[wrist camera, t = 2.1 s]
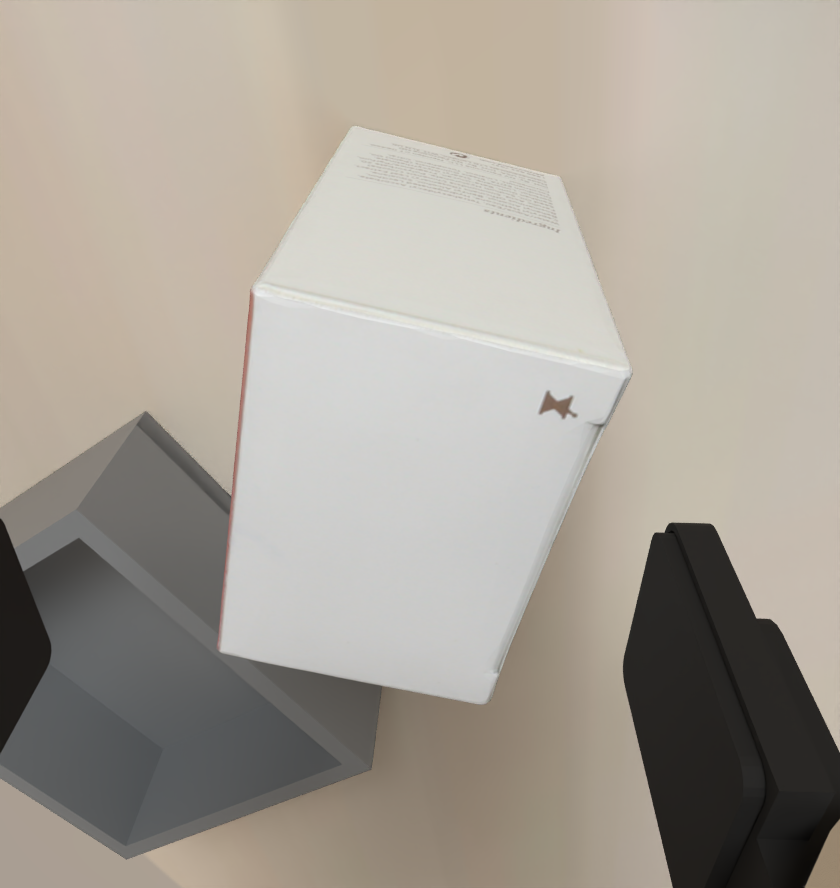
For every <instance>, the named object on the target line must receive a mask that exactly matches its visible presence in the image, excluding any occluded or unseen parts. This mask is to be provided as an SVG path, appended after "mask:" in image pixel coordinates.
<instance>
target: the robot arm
mask: <svg viewBox="0 0 840 888" xmlns="http://www.w3.org/2000/svg"><path fill="white" fill-rule="evenodd" d="M51 651H52V650H51V642H50V639H49V636H48V634H47V631H46V629H45V626H44V623H43V621H42V618H41V616H40V613H39V611H38V608H37V606H36V603H35V600H34V598H33V595H32V593H31V590H30V588H29V585H28V583H27V580H26V577H25V575H24V572H23V570H22V567H21V565H20V562H19V560H18V557H17V554H16V552H15V549H14V547H13V544H12V542H11V539H10V537H9V534H8V531H7V529H6V526H5V524H4V522H3V520H2V519H1V518H0V753H1V752H2V750H3V748H4V746H5V744H6V742H7V741H8V739H9V737H10V735H11V733H12V732H13V730H14V728H15V726H16V724H17V722H18V721H19V719H20V717H21V715H22V713H23V711H24V710H25V708H26V706H27V704H28V702H29V700H30V699H31V697H32V695H33V693H34V691H35V689H36V688H37V686H38V684H39V682H40V680H41V679H42V677H43V675H44V673H45V671H46V669H47V667H48V665H49V662H50V658H51ZM623 676H624V683H625V688H626V692H627V696H628V701H629V705H630V709H631V713H632V717H633V722H634V726H635V730H636V734H637V738H638V743H639V747H640V751H641V755H642V760H643V764H644V768H645V772H646V776H647V781H648V785H649V789H650V793H651V797H652V802H653V806H654V810H655V814H656V818H657V823H658V827H659V831H660V835H661V839H662V844H663V848H664V852H665V856H666V861H667V865H668V869H669V873H670V877H671V882H672V886H673V888H840V752H839V750H838V748H837V746H836V744H835V742H834V740H833V738H832V736H831V734H830V731H829V729H828V727H827V725H826V723H825V721H824V719H823V717H822V715H821V713H820V711H819V709H818V707H817V704H816V702H815V700H814V698H813V696H812V694H811V692H810V690H809V688H808V686H807V684H806V682H805V680H804V677H803V675H802V673H801V671H800V669H799V667H798V665H797V663H796V661H795V659H794V657H793V655H792V653H791V650H790V648H789V646H788V644H787V642H786V640H785V638H784V636H783V634H782V632H781V631H780V629H779V628H778V626H777V624H775V623H774V622H773V621H772V620H770V619H756V617H755V614H754V612H753V610H752V608H751V606H750V603H749V601H748V599H747V597H746V595H745V592H744V590H743V588H742V586H741V584H740V581H739V579H738V577H737V575H736V573H735V570H734V568H733V566H732V564H731V562H730V559H729V557H728V555H727V553H726V551H725V548H724V546H723V544H722V542H721V540H720V537H719V535H718V533H717V531H716V529H715V528H714V526H713V525H711V524H705V523H669V524H668V526H667V527H666V530H665V533H655V534H654V535H653V537H652V540H651V544H650V549H649V553H648V557H647V561H646V566H645V570H644V574H643V578H642V583H641V587H640V591H639V596H638V600H637V604H636V608H635V613H634V617H633V621H632V625H631V630H630V634H629V638H628V642H627V647H626V651H625V655H624V661H623Z"/></svg>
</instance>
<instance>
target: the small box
mask: <svg viewBox="0 0 840 888" xmlns="http://www.w3.org/2000/svg"><path fill="white" fill-rule="evenodd" d="M632 374H633V373H632V367H631V364H630V362H629V359H628V357H627V354H626V351H625V349H624V346H623V343H622V341H621V338H620V334H619V332H618V330H617V327H616V324H615V321H614V318H613V316H612V313H611V310H610V308H609V305H608V303H607V300H606V298H605V295H604V292H603V290H602V287H601V284H600V282H599V278H598V275H597V273H596V270H595V267H594V264H593V262H592V259H591V256H590V253H589V250H588V248H587V245H586V243H585V240H584V237H583V234H582V232H581V229H580V226H579V224H578V221H577V218H576V216H575V213H574V211H573V207H572V205H571V203H570V200H569V197H568V195H567V192H566V189H565V187H564V184H563V181H562V179H561V177H559V176H556V175H552V174H547V173H543V172H539V171H535V170H531V169H527V168H523V167H519V166H515V165H511V164H507V163H503V162H499V161H495V160H491V159H487V158H483V157H479V156H475V155H471V154H467V153H463V152H459V151H455V150H451V149H447V148H443V147H439V146H435V145H431V144H427V143H423V142H419V141H415V140H411V139H407V138H402V137H398V136H394V135H390V134H386V133H382V132H378V131H374V130H370V129H366V128H362V127H359V126H353V127H351V128H350V129H349V131H348V133H347V134H346V136H345V137H344V139H343V140H342V142H341V144H340V145H339V147H338V149H337V150H336V152H335V153H334V155H333V156H332V158H331V160H330V161H329V163H328V165H327V166H326V168H325V170H324V172H323V173H322V175H321V176H320V178H319V180H318V181H317V183H316V184H315V186H314V187H313V189H312V191H311V192H310V194H309V196H308V197H307V199H306V201H305V202H304V204H303V205H302V207H301V209H300V210H299V212H298V214H297V215H296V217H295V218H294V220H293V222H292V223H291V225H290V226H289V228H288V230H287V231H286V233H285V235H284V236H283V238H282V240H281V241H280V243H279V245H278V246H277V248H276V250H275V251H274V253H273V254H272V256H271V258H270V259H269V261H268V262H267V264H266V265H265V267H264V269H263V270H262V272H261V274H260V275H259V277H258V278H257V280H256V281H255V283H254V284H253V286H252V288H251V289H250V305H249V315H248V325H247V335H246V346H245V357H244V368H243V379H242V389H241V400H240V411H239V422H238V432H237V442H236V453H235V463H234V474H233V487H232V497H231V506H230V516H229V527H228V538H227V549H226V559H225V570H224V580H223V590H222V599H221V613H220V625H219V635H218V642H217V650H218V651H219V652H221V653H223V654H228V655H232V656H237V657H241V658H246V659H250V660H254V661H259V662H264V663H269V664H273V665H278V666H283V667H289V668H294V669H299V670H304V671H310V672H315V673H320V674H325V675H329V676H334V677H339V678H344V679H350V680H355V681H360V682H365V683H370V684H375V685H380V686H385V687H390V688H396V689H401V690H406V691H411V692H416V693H421V694H426V695H431V696H436V697H441V698H447V699H452V700H457V701H462V702H468V703H473V704H478V705H483V704H487V703H488V702H489V701H490V700H491V698H492V696H493V693H494V690H495V687H496V684H497V681H498V678H499V675H500V672H501V669H502V666H503V663H504V661H505V658H506V656H507V653H508V650H509V648H510V645H511V643H512V640H513V638H514V635H515V633H516V631H517V628H518V626H519V623H520V621H521V619H522V616H523V614H524V612H525V609H526V607H527V604H528V602H529V600H530V597H531V595H532V592H533V590H534V588H535V585H536V583H537V581H538V578H539V576H540V573H541V571H542V569H543V566H544V564H545V562H546V559H547V557H548V555H549V552H550V550H551V548H552V545H553V543H554V541H555V538H556V536H557V534H558V531H559V529H560V527H561V524H562V522H563V520H564V518H565V515H566V513H567V511H568V508H569V506H570V503H571V501H572V499H573V497H574V495H575V492H576V490H577V487H578V485H579V483H580V481H581V479H582V477H583V475H584V472H585V470H586V468H587V466H588V464H589V461H590V459H591V457H592V455H593V453H594V450H595V448H596V446H597V444H598V441H599V439H600V437H601V436H602V434H603V432H604V430H605V428H606V427H607V425H608V423H609V421H610V419H611V417H612V415H613V413H614V411H615V409H616V407H617V405H618V403H619V401H620V399H621V397H622V395H623V393H624V391H625V389H626V387H627V385H628V383H629V381H630V379H631V376H632Z"/></svg>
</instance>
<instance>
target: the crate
mask: <svg viewBox="0 0 840 888" xmlns="http://www.w3.org/2000/svg"><path fill="white" fill-rule="evenodd" d="M230 506H231V496H230V495H229V494H228V493H227V492H226V491H225V490H224V489H223V488H222V487H221V486H220V485H219V484H218V483H217V482H216V481H215V480H214V479H213V478H212V477H211V476H210V475H209V474H208V473H207V472H206V471H205V470H204V469H203V468H202V467H201V466H200V465H199V464H198V463H197V462H196V461H195V460H194V459H193V458H192V457H191V456H190V455H189V454H188V453H187V452H186V451H185V450H184V449H183V448H182V447H181V446H180V445H179V444H178V443H177V442H176V441H175V440H174V439H173V438H172V437H171V436H170V435H169V434H168V433H167V432H166V431H165V430H164V429H163V428H162V427H161V426H160V425H159V424H158V423H157V422H156V421H155V420H154V419H153V418H152V417H151V416H150V415H149V414H148V413H147V412H146V411H145V412H144V413H142V414H141V415H139V416H138V417H136V418H135V419H133V420H132V421H130V422H129V423H127V424H126V425H124V426H123V427H121V428H120V429H118V430H117V431H115V432H114V433H112V434H111V435H109V436H108V437H106V438H105V439H103V440H102V441H100V442H99V443H97V444H96V445H94V446H93V447H91V448H90V449H88V450H87V451H85V452H84V453H82V454H81V455H79V456H78V457H76V458H75V459H73V460H72V461H70V462H69V463H67V464H66V465H64V466H63V467H61V468H60V469H58V470H57V471H55V472H54V473H52V474H51V475H49V476H48V477H46V478H45V479H43V480H42V481H40V482H39V483H37V484H36V485H34V486H33V487H31V488H30V489H28V490H27V491H25V492H24V493H22V494H21V495H19V496H18V497H16V498H15V499H13V500H12V501H10V502H9V503H7V504H6V505H4V506H3V507H1V508H0V518H1V519H2V520H3V522H4V524H5V526H6V529H7V531H8V534H9V537H10V539H11V542H12V544H13V547H14V549H15V552H16V554H17V557H18V560H19V562H20V565H21V567H22V570H23V572H24V575H25V577H26V580H27V583H28V585H29V588H30V590H31V593H32V595H33V598H34V600H35V603H36V606H37V608H38V611H39V613H40V616H41V618H42V621H43V623H44V626H45V629H46V631H47V634H48V636H49V639H50V642H51V650H52V651H51V658H50V662H49V665H48V667H47V669H46V671H45V673H44V675H43V677H42V679H41V680H40V682H39V684H38V686H37V688H36V689H35V691H34V693H33V695H32V697H31V699H30V700H29V702H28V704H27V706H26V708H25V710H24V711H23V713H22V715H21V717H20V719H19V721H18V722H17V724H16V726H15V728H14V730H13V732H12V733H11V735H10V737H9V739H8V741H7V742H6V744H5V746H4V748H3V750H2V752H1V753H0V778H1V779H2V780H4V781H5V782H7V783H8V784H10V785H12V786H13V787H15V788H16V789H18V790H19V791H21V792H22V793H24V794H26V795H27V796H29V797H30V798H32V799H33V800H35V801H36V802H38V803H39V804H41V805H43V806H44V807H46V808H47V809H49V810H51V811H52V812H53V813H55V814H57V815H58V816H60V817H61V818H63V819H64V820H66V821H67V822H69V823H70V824H72V825H74V826H75V827H77V828H78V829H80V830H81V831H83V832H84V833H86V834H88V835H89V836H91V837H92V838H94V839H95V840H97V841H98V842H100V843H102V844H103V845H105V846H106V847H108V848H109V849H111V850H112V851H114V852H116V853H117V854H119V855H120V856H122V857H123V858H125V859H129V858H132V857H135V856H137V855H140V854H143V853H145V852H148V851H151V850H154V849H156V848H159V847H162V846H165V845H167V844H170V843H173V842H175V841H178V840H181V839H184V838H186V837H189V836H192V835H194V834H197V833H200V832H203V831H205V830H208V829H211V828H213V827H216V826H219V825H222V824H224V823H227V822H230V821H232V820H235V819H238V818H241V817H243V816H246V815H249V814H251V813H254V812H257V811H260V810H262V809H265V808H268V807H270V806H273V805H276V804H279V803H281V802H284V801H287V800H289V799H292V798H295V797H298V796H300V795H303V794H306V793H308V792H311V791H314V790H317V789H319V788H322V787H325V786H327V785H330V784H333V783H336V782H338V781H341V780H344V779H346V778H349V777H352V776H355V775H357V774H360V773H363V772H365V771H368V770H371V769H372V762H373V754H374V746H375V738H376V730H377V722H378V714H379V706H380V698H381V690H382V686H380V685H375V684H370V683H365V682H360V681H355V680H350V679H344V678H339V677H334V676H329V675H325V674H320V673H315V672H310V671H304V670H299V669H294V668H289V667H283V666H278V665H273V664H269V663H264V662H259V661H254V660H250V659H246V658H241V657H237V656H232V655H228V654H223V653H221V652H219V651H218V650H217V642H218V635H219V625H220V613H221V599H222V590H223V580H224V570H225V559H226V549H227V538H228V527H229V516H230Z"/></svg>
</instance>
